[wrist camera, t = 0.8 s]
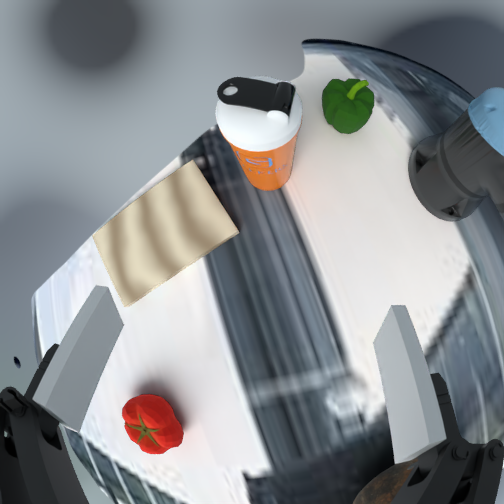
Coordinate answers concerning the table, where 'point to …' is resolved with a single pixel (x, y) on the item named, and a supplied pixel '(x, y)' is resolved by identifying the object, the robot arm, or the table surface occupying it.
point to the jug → (385, 485)
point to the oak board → (163, 233)
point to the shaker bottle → (261, 126)
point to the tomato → (152, 424)
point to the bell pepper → (347, 104)
